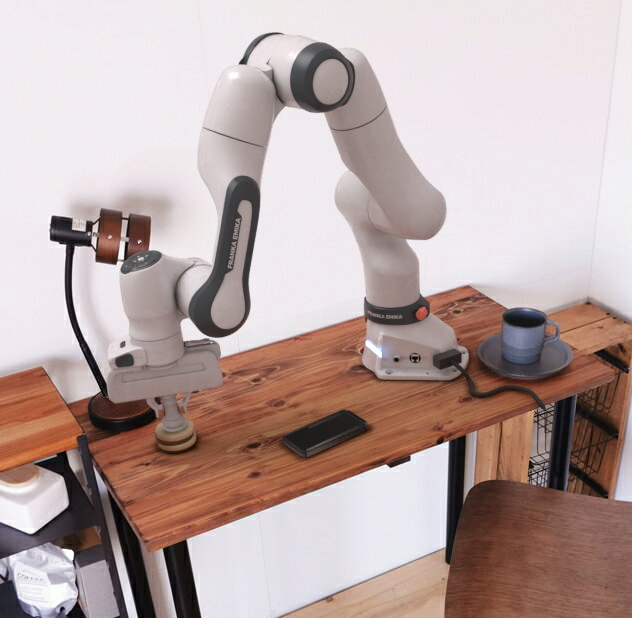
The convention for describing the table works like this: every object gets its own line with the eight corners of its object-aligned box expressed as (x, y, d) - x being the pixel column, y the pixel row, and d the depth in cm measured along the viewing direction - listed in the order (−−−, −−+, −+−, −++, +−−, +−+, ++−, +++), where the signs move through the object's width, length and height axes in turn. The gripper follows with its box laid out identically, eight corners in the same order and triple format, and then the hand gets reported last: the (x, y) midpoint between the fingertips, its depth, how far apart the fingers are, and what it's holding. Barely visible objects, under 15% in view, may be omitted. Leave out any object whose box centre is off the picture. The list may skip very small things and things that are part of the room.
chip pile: (204, 435, 170) (202, 419, 169) (186, 457, 165) (183, 440, 163) (169, 430, 173) (165, 414, 171) (149, 452, 167) (145, 435, 165)
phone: (370, 423, 169) (303, 453, 161) (370, 429, 169) (303, 458, 162) (345, 407, 174) (279, 435, 167) (345, 412, 175) (280, 440, 167)
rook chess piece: (181, 434, 164) (174, 396, 160) (158, 432, 165) (150, 394, 161) (190, 421, 168) (183, 383, 164) (168, 420, 169) (160, 382, 164)
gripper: (216, 329, 162) (227, 396, 169) (99, 346, 158) (115, 414, 166) (219, 344, 157) (230, 413, 164) (98, 362, 153) (115, 431, 161)
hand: (172, 413), depth 165 cm, fingers closed on rook chess piece, 3 cm apart
